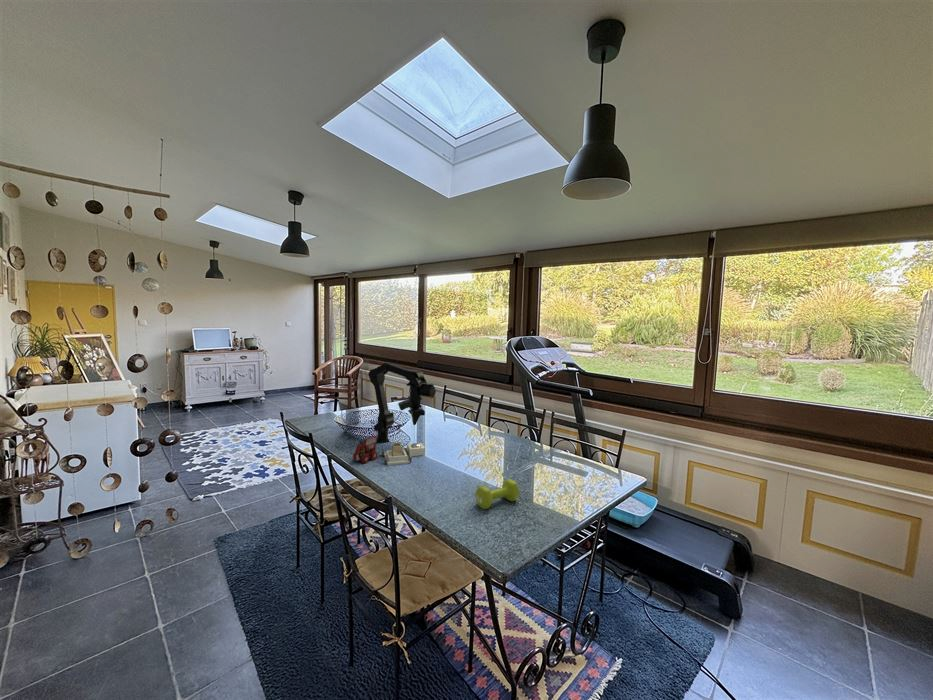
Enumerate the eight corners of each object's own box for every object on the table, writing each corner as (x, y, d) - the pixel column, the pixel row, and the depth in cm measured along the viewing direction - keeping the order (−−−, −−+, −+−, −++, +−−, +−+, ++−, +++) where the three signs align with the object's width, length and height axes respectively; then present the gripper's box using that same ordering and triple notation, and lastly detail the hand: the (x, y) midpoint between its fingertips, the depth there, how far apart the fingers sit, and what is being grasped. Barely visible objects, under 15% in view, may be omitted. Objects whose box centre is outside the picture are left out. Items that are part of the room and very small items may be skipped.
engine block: (391, 456, 168) (392, 442, 168) (400, 455, 170) (400, 441, 169) (392, 459, 164) (393, 445, 164) (401, 458, 166) (402, 444, 165)
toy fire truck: (349, 462, 162) (349, 439, 161) (370, 454, 172) (370, 433, 171) (359, 466, 158) (360, 443, 157) (380, 457, 168) (381, 436, 167)
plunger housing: (406, 451, 178) (407, 444, 178) (421, 449, 181) (421, 443, 181) (409, 456, 172) (410, 449, 171) (424, 455, 174) (425, 448, 174)
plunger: (411, 450, 177) (411, 443, 177) (418, 449, 179) (418, 442, 178) (412, 452, 174) (413, 445, 173) (420, 452, 175) (420, 445, 175)
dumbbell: (484, 513, 124) (485, 493, 123) (472, 503, 130) (473, 484, 130) (521, 503, 132) (522, 484, 132) (507, 493, 139) (508, 475, 138)
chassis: (381, 454, 172) (381, 448, 172) (405, 452, 177) (406, 446, 176) (385, 465, 159) (385, 459, 159) (411, 463, 163) (411, 456, 163)
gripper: (396, 391, 188) (395, 420, 189) (403, 399, 170) (401, 431, 171) (417, 391, 192) (416, 419, 193) (425, 398, 174) (424, 429, 175)
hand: (414, 424), depth 183 cm, fingers closed
